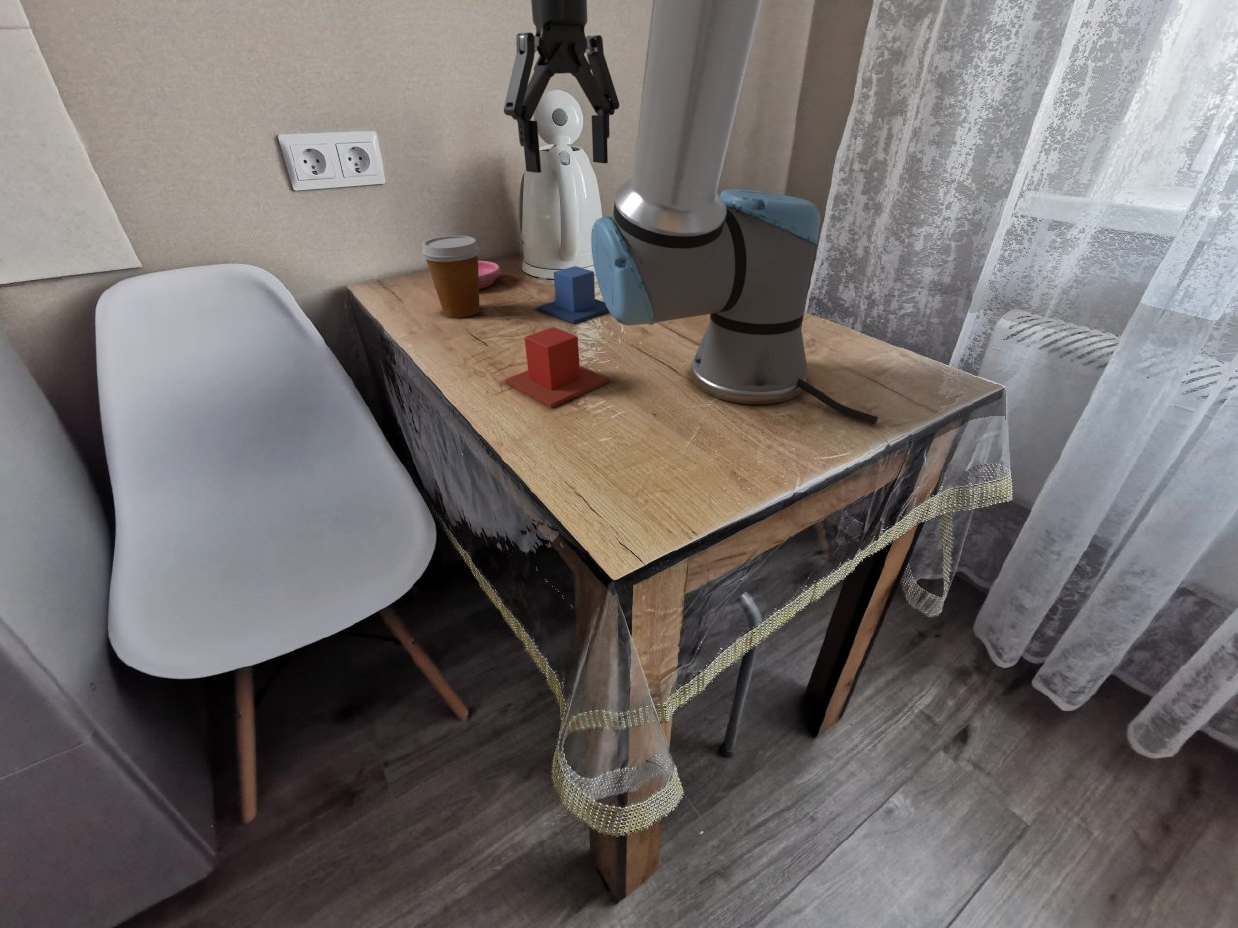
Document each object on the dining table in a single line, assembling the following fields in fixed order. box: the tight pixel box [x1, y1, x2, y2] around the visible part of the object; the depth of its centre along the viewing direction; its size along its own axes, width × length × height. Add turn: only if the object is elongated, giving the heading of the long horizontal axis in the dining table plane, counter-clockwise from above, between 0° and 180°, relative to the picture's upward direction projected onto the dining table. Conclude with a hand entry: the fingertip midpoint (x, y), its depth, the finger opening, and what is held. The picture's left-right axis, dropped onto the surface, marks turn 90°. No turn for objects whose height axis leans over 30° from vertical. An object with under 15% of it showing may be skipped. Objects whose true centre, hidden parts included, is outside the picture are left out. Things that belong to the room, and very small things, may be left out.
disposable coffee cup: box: [421, 235, 481, 319], centre depth 96 cm, size 10×10×12 cm
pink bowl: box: [478, 260, 501, 290], centre depth 112 cm, size 12×12×3 cm
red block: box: [523, 326, 581, 390], centre depth 74 cm, size 5×5×6 cm
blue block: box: [553, 265, 596, 312], centre depth 98 cm, size 5×5×6 cm
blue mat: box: [536, 298, 610, 324], centre depth 100 cm, size 10×10×1 cm
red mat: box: [504, 365, 609, 409], centre depth 76 cm, size 10×10×1 cm
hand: (568, 167), depth 87 cm, fingers open, 13 cm apart
